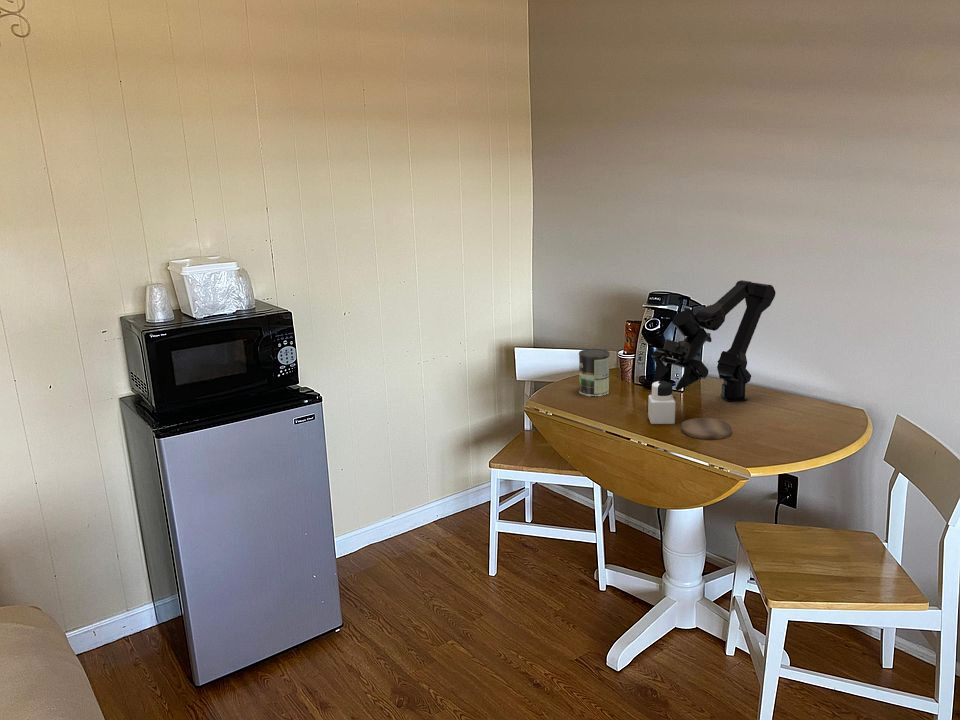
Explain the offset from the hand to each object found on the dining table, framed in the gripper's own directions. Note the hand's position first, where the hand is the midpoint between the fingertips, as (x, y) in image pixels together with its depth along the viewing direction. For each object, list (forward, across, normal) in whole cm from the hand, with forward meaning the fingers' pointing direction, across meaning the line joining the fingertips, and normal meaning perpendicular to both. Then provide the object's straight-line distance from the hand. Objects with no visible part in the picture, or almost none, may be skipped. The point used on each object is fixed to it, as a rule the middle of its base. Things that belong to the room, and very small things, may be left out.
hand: (664, 386), depth 230 cm
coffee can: (+6, -34, +9) cm, 36 cm away
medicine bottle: (+8, 0, +7) cm, 11 cm away
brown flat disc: (+6, +14, +9) cm, 18 cm away
